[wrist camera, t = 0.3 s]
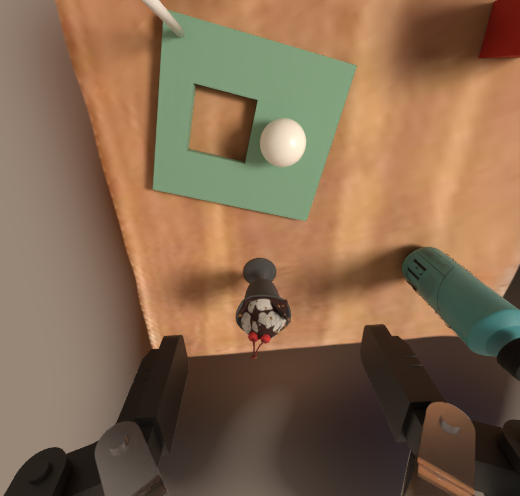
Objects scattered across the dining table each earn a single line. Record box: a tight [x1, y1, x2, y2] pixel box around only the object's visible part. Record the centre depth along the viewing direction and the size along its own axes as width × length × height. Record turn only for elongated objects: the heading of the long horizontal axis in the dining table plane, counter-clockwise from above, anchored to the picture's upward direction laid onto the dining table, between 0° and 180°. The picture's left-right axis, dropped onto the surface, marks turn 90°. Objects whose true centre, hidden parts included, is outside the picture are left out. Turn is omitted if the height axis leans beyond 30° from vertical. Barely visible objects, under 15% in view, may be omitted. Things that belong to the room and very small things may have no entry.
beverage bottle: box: [402, 247, 520, 381], centre depth 34 cm, size 6×7×20 cm
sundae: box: [236, 258, 291, 359], centre depth 36 cm, size 7×7×15 cm
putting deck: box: [142, 0, 357, 221], centre depth 26 cm, size 20×20×16 cm
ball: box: [260, 118, 306, 167], centre depth 30 cm, size 5×5×5 cm
